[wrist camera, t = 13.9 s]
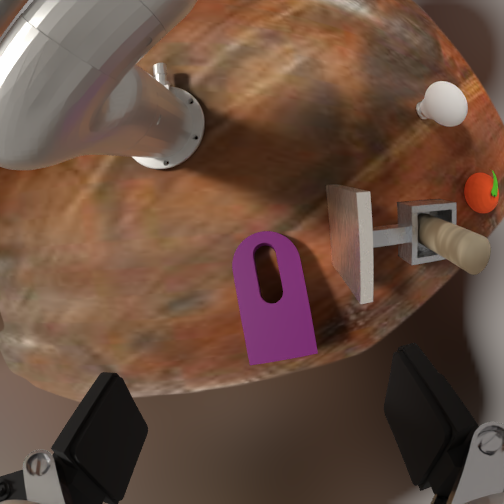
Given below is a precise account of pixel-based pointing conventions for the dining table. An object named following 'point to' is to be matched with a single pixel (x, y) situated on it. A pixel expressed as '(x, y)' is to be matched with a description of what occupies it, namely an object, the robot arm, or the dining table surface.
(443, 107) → the light bulb
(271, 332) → the mounting bracket
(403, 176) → the dining table surface
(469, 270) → the maple peg
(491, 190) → the clementine
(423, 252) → the cup bracket
